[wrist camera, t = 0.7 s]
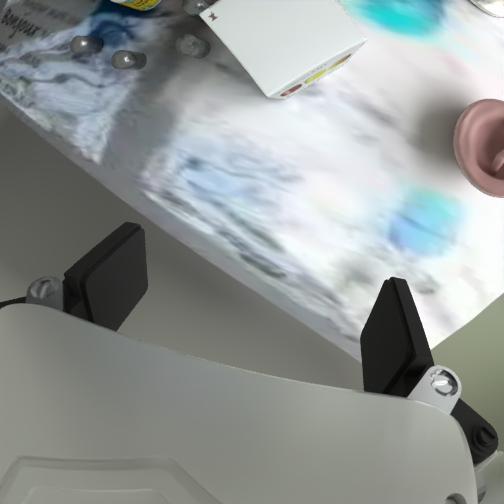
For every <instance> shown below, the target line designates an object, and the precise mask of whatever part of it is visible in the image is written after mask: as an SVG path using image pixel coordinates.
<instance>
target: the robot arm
mask: <svg viewBox="0 0 504 504" xmlns="http://www.w3.org/2000/svg"><path fill="white" fill-rule="evenodd" d="M470 1H471V2H472V3H473V4H474V5H476V6H477V7H478V8H480V9H481V10H483V11H484V12H486V13H488V14H490V15H492V16H495V17H499V18H504V0H470ZM64 276H65V279H64V280H63V281H61V280H60V279H58V278H57V277H53V276H47V277H42V278H39V279H37V280H35V281H34V282H33V283H31V285H30V286H29V287H28V290H27V295H26V297H21V298H17V299H13V300H9V301H4V302H0V504H504V453H503V452H502V451H500V452H499V453H498V451H497V446H498V436H497V433H496V431H495V429H494V428H493V427H492V426H491V425H490V424H489V423H488V422H487V421H486V420H484V419H483V418H482V417H481V416H480V415H479V414H478V413H476V412H475V411H474V410H473V409H472V408H471V407H469V406H468V405H467V404H466V403H465V402H463V401H462V400H461V399H460V398H459V396H460V394H461V390H462V387H461V383H460V380H459V378H458V377H457V375H456V374H455V373H453V371H452V370H450V369H448V368H446V367H443V366H435V365H434V362H433V358H432V355H431V351H430V348H429V345H428V341H427V338H426V335H425V332H424V329H423V326H422V323H421V320H420V317H419V314H418V311H417V308H416V306H415V303H414V300H413V297H412V295H411V292H410V289H409V287H408V284H407V281H406V280H405V279H401V278H396V277H391V278H390V279H389V280H387V279H386V280H385V281H384V283H383V285H382V288H381V290H380V293H379V295H378V297H377V300H376V302H375V304H374V306H373V309H372V311H371V313H370V315H369V318H368V320H367V322H366V324H365V326H364V328H363V330H362V333H361V337H360V344H361V356H362V367H363V383H364V391H356V390H350V389H343V388H337V387H330V386H324V385H318V384H312V383H307V382H301V381H296V380H290V379H285V378H281V377H275V376H271V375H266V374H262V373H257V372H253V371H249V370H244V369H240V368H236V367H232V366H227V365H224V364H220V363H216V362H212V361H209V360H205V359H201V358H197V357H194V356H190V355H187V354H183V353H180V352H177V351H174V350H170V349H167V348H164V347H160V346H157V345H154V344H151V343H148V342H144V341H142V340H139V339H136V338H133V337H130V336H127V335H124V334H121V333H119V332H116V331H117V330H118V328H119V327H120V326H121V324H122V323H123V322H124V320H125V319H126V318H127V316H128V315H129V314H130V312H131V311H132V310H133V308H134V307H135V306H136V304H137V303H138V302H139V300H140V299H141V298H142V297H143V295H144V294H145V293H146V291H147V287H148V280H147V266H146V250H145V232H144V229H142V228H141V226H140V224H135V223H131V222H125V223H124V224H122V225H121V226H120V227H119V228H117V229H116V230H115V231H114V232H112V233H111V234H110V235H109V236H107V237H106V238H105V239H104V240H103V241H101V242H100V243H99V244H98V245H96V246H95V247H94V248H93V249H92V250H90V251H89V252H88V253H87V254H86V255H84V256H83V257H82V258H81V259H80V260H79V261H78V262H76V263H75V264H74V265H73V266H72V267H71V268H70V269H68V270H67V271H66V272H65V273H64Z"/></svg>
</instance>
